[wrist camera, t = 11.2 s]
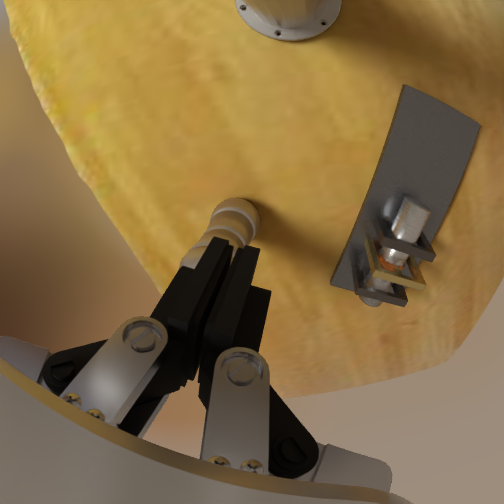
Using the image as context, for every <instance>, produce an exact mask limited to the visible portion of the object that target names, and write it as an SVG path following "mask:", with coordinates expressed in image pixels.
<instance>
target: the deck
mask: <svg viewBox="0 0 504 504" xmlns="http://www.w3.org/2000/svg"><path fill="white" fill-rule="evenodd" d="M479 128H480V124H479V123H477V122H476V121H474V120H472V119H471V118H469V117H467V116H466V115H464V114H462V113H461V112H459V111H457V110H455V109H454V108H452V107H450V106H448V105H446V104H445V103H443V102H441V101H439V100H437V99H435V98H433V97H431V96H429V95H427V94H425V93H423V92H421V91H419V90H417V89H414V88H412V87H410V86H408V85H404V84H403V86H402V90H401V93H400V97H399V100H398V103H397V107H396V110H395V113H394V117H393V120H392V123H391V126H390V129H389V132H388V135H387V138H386V141H385V144H384V147H383V150H382V153H381V156H380V159H379V162H378V165H377V167H376V170H375V173H374V176H373V178H372V181H371V184H370V186H369V189H368V192H367V194H366V197H365V199H364V202H363V204H362V207H361V210H360V212H359V215H358V217H357V219H356V222H355V224H354V227H353V229H352V232H351V234H350V236H349V239H348V241H347V243H346V246H345V248H344V250H343V253H342V255H341V257H340V259H339V262H338V264H337V266H336V268H335V271H334V273H333V275H332V277H331V279H330V285H332V286H336V287H339V288H343V289H347V290H351V291H354V292H355V290H354V282H353V275H352V267H353V265H354V263H358V264H361V265H362V268H363V273H364V278H365V279H366V277H367V275H368V273H369V271H370V266H369V262H368V257H367V253H366V249H365V245H364V243H365V241H366V238H369V239H372V240H373V241H374V245H375V248H376V251H377V253H378V251H379V249H381V248H382V246H381V245H380V243H379V240H378V237H377V234H376V231H375V229H374V226H373V221H374V219H375V216H378V217H381V218H384V221H385V223H386V225H387V227H388V230H389V231H390V229H391V226H392V224H393V222H394V220H395V218H396V215H397V213H398V211H399V209H400V206H401V204H402V202H403V199H404V197H405V196H409V197H412V198H415V199H417V200H419V201H421V202H422V203H424V204H425V205H426V206H428V207H429V208H430V210H431V213H430V215H429V217H428V219H427V222H426V224H425V226H424V228H423V230H422V232H423V233H424V234H425V236H426V238H427V240H428V241H429V243H431V242H432V240H433V238H434V236H435V234H436V232H437V230H438V228H439V226H440V224H441V222H442V220H443V218H444V216H445V214H446V212H447V209H448V207H449V205H450V203H451V201H452V198H453V196H454V194H455V192H456V189H457V187H458V185H459V182H460V180H461V178H462V175H463V173H464V170H465V168H466V165H467V162H468V160H469V157H470V154H471V152H472V149H473V146H474V143H475V140H476V138H477V135H478V132H479ZM415 245H417V243H416V244H415ZM417 246H418V245H417ZM414 258H415V260H416V262H417V264H418V265H419V263H420V262H421V260H422V259H420V258H417V257H414ZM402 275H406V276H409V277H412V275H411V273H410V270H409V268H408V265H407V263H406V262H405V266H404V268H403V270H402ZM405 287H406V286H404V289H405ZM389 292H390V293H393V294H394V291H393V288H392V287H391V288H390V290H389Z"/></svg>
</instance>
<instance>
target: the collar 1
mask: <svg viewBox="0 0 504 504" xmlns="http://www.w3.org/2000/svg"><path fill="white" fill-rule="evenodd" d="M373 226H374V229H375V231H376V234H377V237H378V240H379V243H380V245H381V246H384V247H387V248H390V249H393V250H396V251H399V252H402V253H405V254H408V255H411V256H414V257H417V258H420V259H423V260H426V261H429V262H433V260H434V258H435V256H436V254H435V252H434V250H433V248H432V246H431V245H430V243H429V241H428V240H427V238H426V236H425V234H424V233H423V232H421V234H420V236H419V238H418V240H417V242H416V243H417V245H418V246H417V245H415V244H412V243H409V242H406V241H403V240H400V239H397V238H394V237H391V234H390V232H389V230H388V227H387V225H386V223H385V221H384V218H381V217H378V216H375V219H374V221H373Z"/></svg>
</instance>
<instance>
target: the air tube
mask: <svg viewBox="0 0 504 504" xmlns="http://www.w3.org/2000/svg"><path fill="white" fill-rule="evenodd" d="M430 213H431V210H430V208H429V207H428V206H426V205H425V204H424V203H422V202H421V201H419V200H417V199H415V198H412V197H409V196H405V197H404V199H403V202H402V204H401V206H400V209H399V211H398V213H397V215H396V218H395V220H394V222H393V224H392V226H391V229H390V231H389V232H390V234H391V237H394V238H397V239H400V240H403V241H406V242H409V243H412V244H416V242H417V240H418V238H419V236H420V234H421V232H422V230H423V228H424V226H425V224H426V222H427V219H428V217H429V215H430ZM377 255H378V258H379V261H380V265H381V268H382V269H386V270H389V271H392V272H393V270H394V268H395V266H396V267H399V268H400V270H401V272H402V270H403V268H404V266H405V262H406V260H407V259H408V257H409V255H408V254H405V253H402V252H399V251H396V250H393V249H390V248H387V247H384V246H382V248H381V249H379V251H378V253H377ZM365 283H366V286H368V287H371V288H375V289H379V290H382V291H386V292H389V290H390V288H391V287H392V285H393V282H390V281H386V280H383V279H379V278H376V277H372V274H371V270H370V271H369V273H368V275H367V277H366V279H365ZM359 297H360V299H361V300H362V301H363V302H364V303H365V304H367V305H369V306H372V307H378V306H380V305H381V303H382V301H379V300H375V299H371V298H367V297H363V296H360V295H359Z"/></svg>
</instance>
